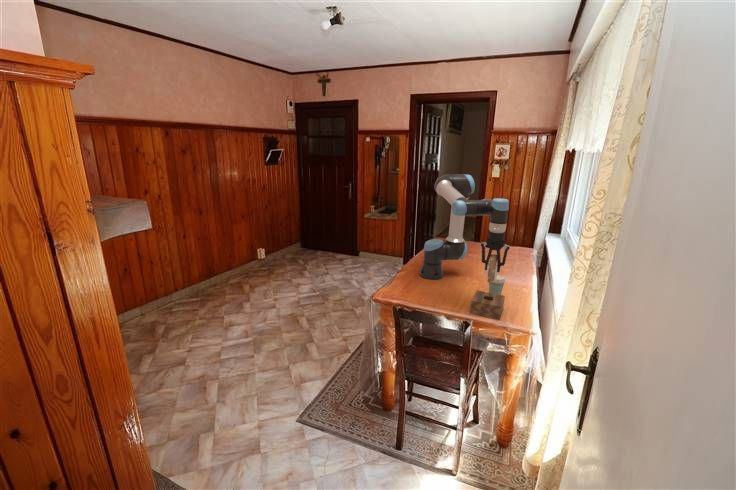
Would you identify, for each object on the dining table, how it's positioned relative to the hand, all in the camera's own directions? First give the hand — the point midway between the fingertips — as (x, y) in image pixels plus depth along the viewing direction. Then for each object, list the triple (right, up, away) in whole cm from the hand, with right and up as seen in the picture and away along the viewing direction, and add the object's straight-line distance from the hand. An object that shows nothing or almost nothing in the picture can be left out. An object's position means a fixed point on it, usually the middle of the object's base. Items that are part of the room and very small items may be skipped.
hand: (491, 277), depth 166 cm
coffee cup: (+10, -13, +21) cm, 27 cm away
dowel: (0, -2, +1) cm, 3 cm away
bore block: (0, -18, +5) cm, 19 cm away
